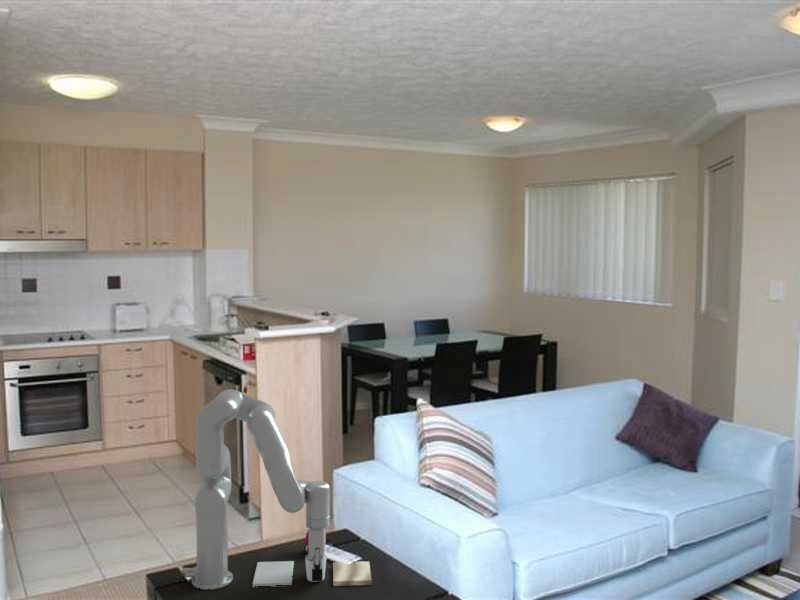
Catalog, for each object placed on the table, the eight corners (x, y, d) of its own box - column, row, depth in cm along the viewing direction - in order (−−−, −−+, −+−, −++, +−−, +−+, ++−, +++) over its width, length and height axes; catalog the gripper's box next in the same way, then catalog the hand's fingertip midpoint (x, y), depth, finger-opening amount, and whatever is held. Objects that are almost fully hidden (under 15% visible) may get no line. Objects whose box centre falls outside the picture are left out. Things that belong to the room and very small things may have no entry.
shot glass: (322, 583, 228) (323, 562, 227) (302, 581, 229) (302, 560, 228) (329, 574, 234) (329, 553, 234) (309, 572, 236) (309, 551, 235)
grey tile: (252, 587, 225) (252, 583, 225) (257, 564, 241) (257, 562, 241) (291, 585, 226) (291, 582, 226) (294, 563, 242) (294, 561, 242)
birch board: (333, 586, 226) (333, 581, 226) (333, 566, 240) (333, 562, 240) (371, 584, 227) (371, 580, 227) (369, 565, 241) (369, 561, 241)
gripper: (306, 511, 239) (306, 565, 240) (304, 531, 222) (304, 589, 223) (329, 511, 239) (329, 564, 240) (329, 531, 222) (328, 588, 223)
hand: (317, 575), depth 232 cm, fingers closed on shot glass, 5 cm apart
